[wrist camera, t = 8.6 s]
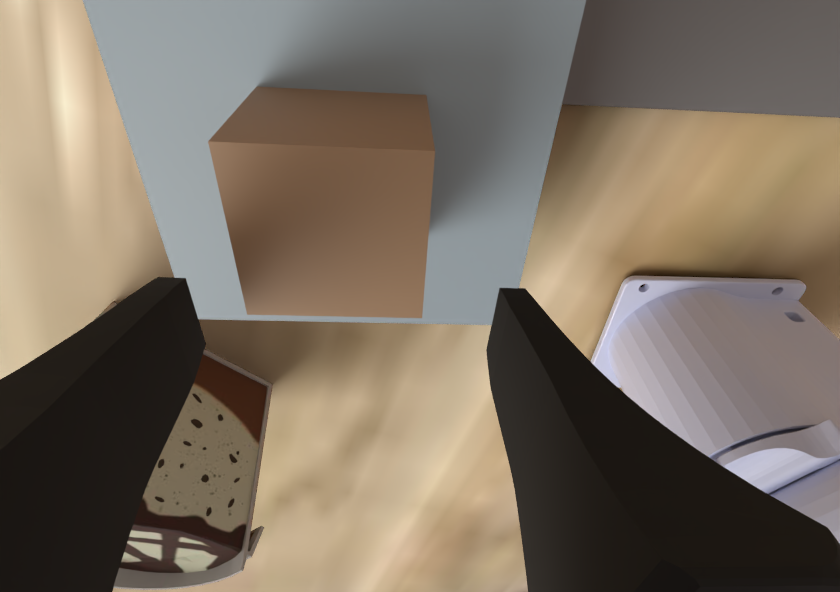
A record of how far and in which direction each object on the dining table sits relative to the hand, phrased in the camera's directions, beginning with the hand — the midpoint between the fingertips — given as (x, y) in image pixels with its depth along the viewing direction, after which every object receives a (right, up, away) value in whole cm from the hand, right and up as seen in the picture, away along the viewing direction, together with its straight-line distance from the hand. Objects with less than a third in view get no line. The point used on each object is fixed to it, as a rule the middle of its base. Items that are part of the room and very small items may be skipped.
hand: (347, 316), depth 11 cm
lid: (-1, +5, +4) cm, 6 cm away
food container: (-12, -4, +16) cm, 21 cm away
